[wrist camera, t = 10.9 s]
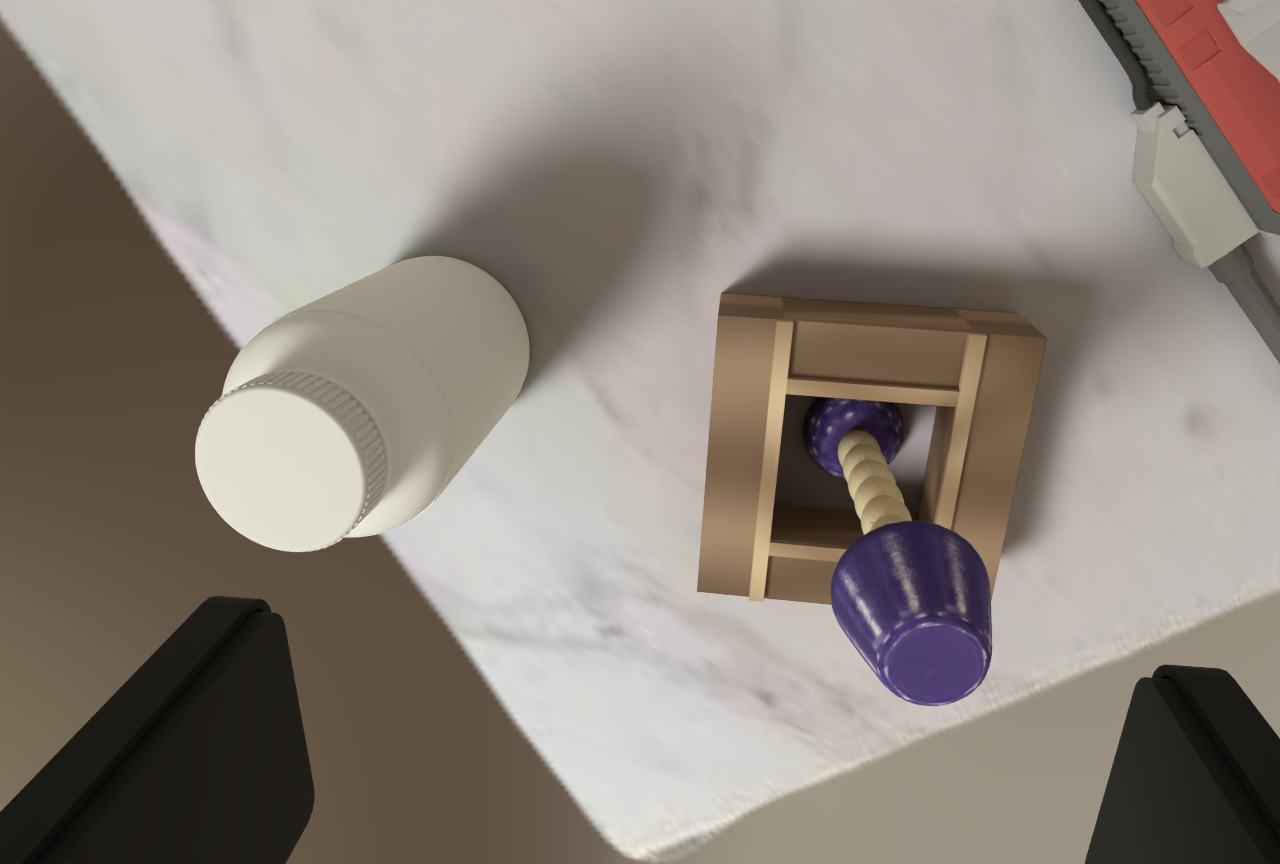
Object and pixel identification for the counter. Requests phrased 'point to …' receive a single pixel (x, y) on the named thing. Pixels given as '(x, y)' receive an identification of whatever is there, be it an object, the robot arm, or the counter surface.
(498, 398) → the pill bottle
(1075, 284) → the counter surface
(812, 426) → the toy lamp
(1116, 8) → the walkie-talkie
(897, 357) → the tan wooden square frame
